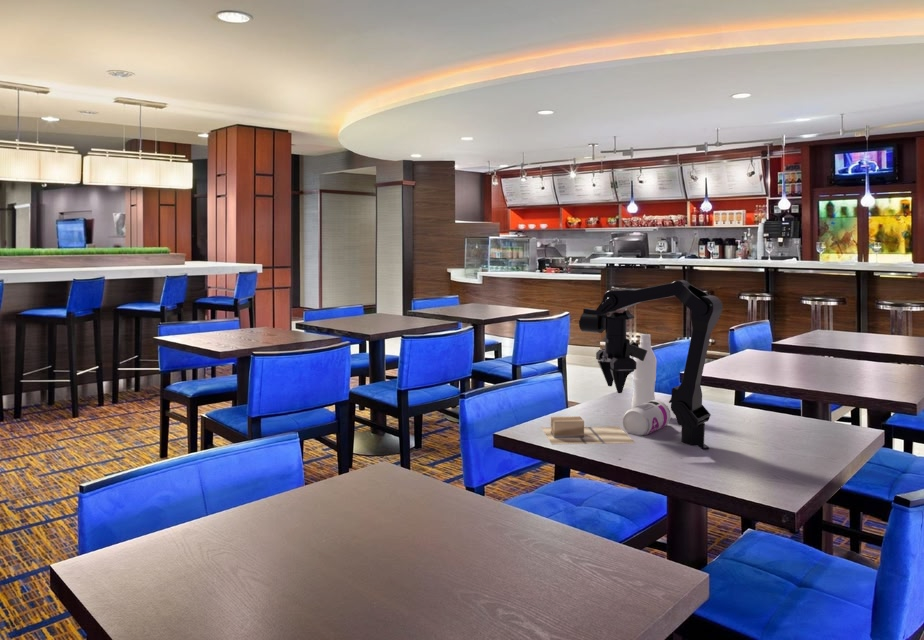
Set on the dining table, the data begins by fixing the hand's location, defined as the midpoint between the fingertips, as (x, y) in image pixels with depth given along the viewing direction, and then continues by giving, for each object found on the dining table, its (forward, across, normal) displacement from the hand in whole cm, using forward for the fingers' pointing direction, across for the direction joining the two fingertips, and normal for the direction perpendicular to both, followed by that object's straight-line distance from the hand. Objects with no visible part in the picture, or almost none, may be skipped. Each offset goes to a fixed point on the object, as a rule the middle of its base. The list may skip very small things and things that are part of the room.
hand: (614, 389), depth 190 cm
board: (+12, -8, +10) cm, 17 cm away
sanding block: (+11, -8, +15) cm, 20 cm away
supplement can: (+8, +3, -14) cm, 16 cm away
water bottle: (+12, +18, -15) cm, 26 cm away
